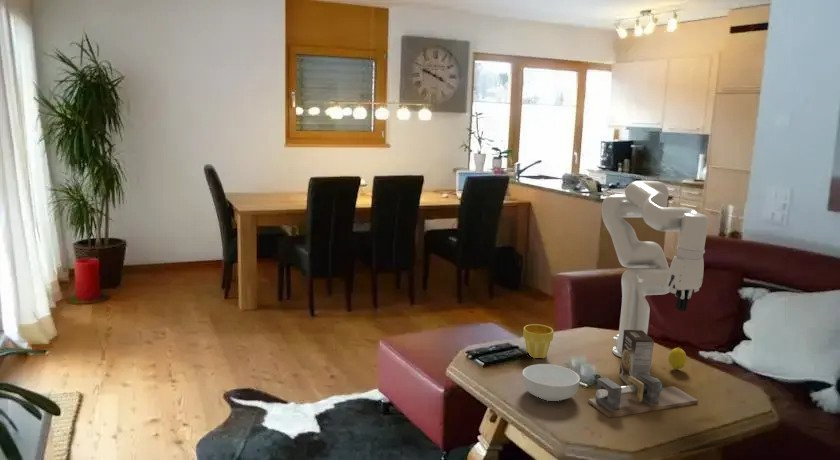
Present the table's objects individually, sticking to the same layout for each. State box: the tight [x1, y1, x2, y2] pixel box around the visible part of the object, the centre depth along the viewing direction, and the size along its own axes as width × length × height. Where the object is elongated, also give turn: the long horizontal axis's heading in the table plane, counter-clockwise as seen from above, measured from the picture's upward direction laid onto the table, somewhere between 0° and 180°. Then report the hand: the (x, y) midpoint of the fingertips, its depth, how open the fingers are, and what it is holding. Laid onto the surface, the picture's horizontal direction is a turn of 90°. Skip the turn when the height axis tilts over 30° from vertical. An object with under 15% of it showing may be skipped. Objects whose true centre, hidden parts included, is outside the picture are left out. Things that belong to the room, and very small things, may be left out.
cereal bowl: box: [521, 363, 581, 402], centre depth 193 cm, size 17×17×7 cm
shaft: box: [595, 377, 663, 398], centre depth 189 cm, size 21×4×4 cm, turn 111°
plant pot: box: [522, 323, 554, 359], centre depth 224 cm, size 10×10×10 cm
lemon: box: [668, 346, 687, 371], centre depth 217 cm, size 6×6×8 cm
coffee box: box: [618, 330, 655, 386], centre depth 205 cm, size 9×6×16 cm
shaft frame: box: [587, 372, 699, 419], centre depth 191 cm, size 32×10×8 cm, turn 111°
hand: (680, 309), depth 201 cm, fingers closed
